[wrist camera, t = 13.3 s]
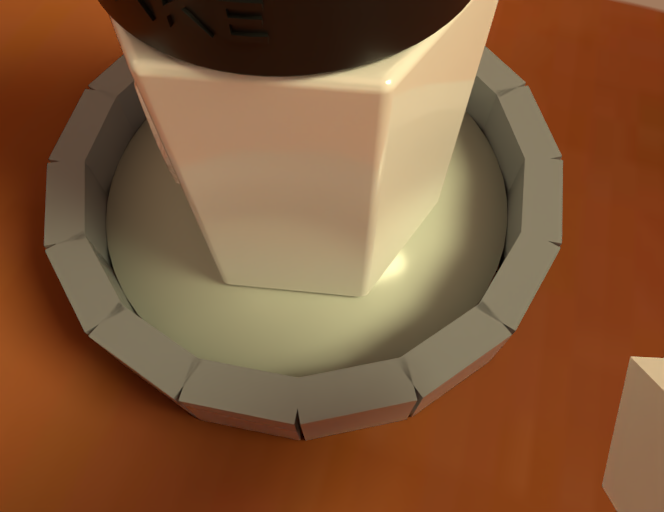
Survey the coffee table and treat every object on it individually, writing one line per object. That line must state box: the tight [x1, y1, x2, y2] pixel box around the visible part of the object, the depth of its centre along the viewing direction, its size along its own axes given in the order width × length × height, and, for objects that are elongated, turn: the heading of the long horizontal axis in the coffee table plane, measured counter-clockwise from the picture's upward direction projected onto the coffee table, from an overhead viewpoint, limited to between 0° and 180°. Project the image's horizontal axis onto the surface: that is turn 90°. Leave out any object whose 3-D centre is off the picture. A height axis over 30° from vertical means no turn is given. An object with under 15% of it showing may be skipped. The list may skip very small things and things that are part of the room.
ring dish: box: [44, 46, 563, 441], centre depth 19 cm, size 16×16×3 cm
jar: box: [98, 0, 498, 297], centre depth 14 cm, size 9×8×12 cm
